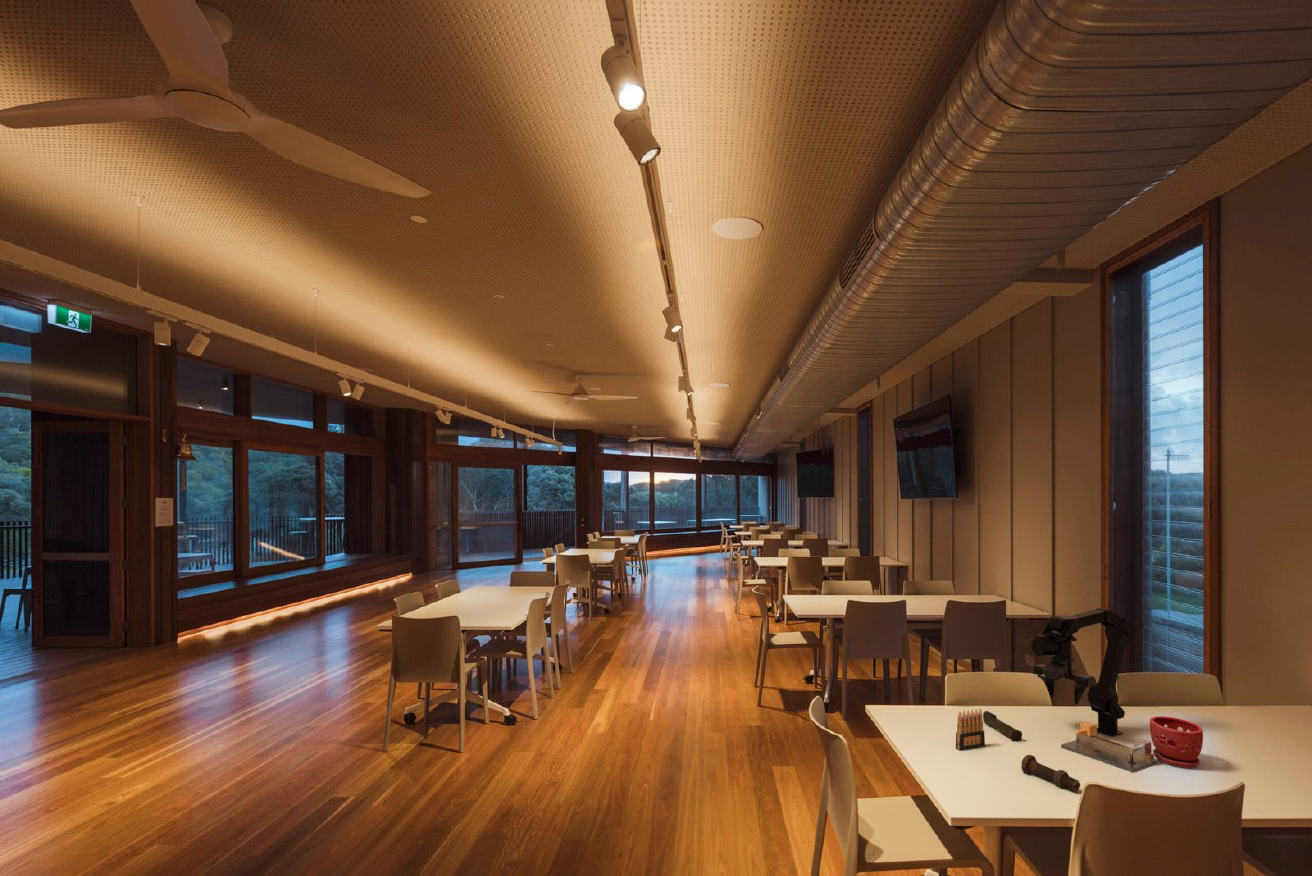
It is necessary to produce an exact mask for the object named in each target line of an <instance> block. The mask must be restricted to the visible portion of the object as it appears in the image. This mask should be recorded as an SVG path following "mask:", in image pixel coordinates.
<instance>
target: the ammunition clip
mask: <svg viewBox="0 0 1312 876" xmlns="http://www.w3.org/2000/svg"><path fill="white" fill-rule="evenodd" d="M985 739H986V738H985V730H984V721H983V711H982V709H981V708H979V709H977V708H975V710H973V709H971V710H970V711H969V709H968V710H967V711H966V712H965V710H963V711H962V713H961V711H958V714H957V723H956V732H955V749H956V750H957V751H959V752H962V751H967V750H973V749H978V748H979V749H980V748H985V747H986V741H985Z"/></svg>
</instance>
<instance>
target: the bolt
mask: <svg viewBox="0 0 1312 876" xmlns="http://www.w3.org/2000/svg"><path fill="white" fill-rule="evenodd" d="M1020 764H1021V766H1020V767H1021V770H1022V773H1023V774H1025V775H1028V776H1029V775H1033V774H1034V775H1037V776H1040V777H1042V778H1044V779H1046V780H1049V781H1050V782H1052V783H1054V785H1055V787H1056V788H1058V789H1059V788H1060V789H1068V790H1071V791H1072V792H1077V791H1079V789H1080V788H1081V783H1080V780H1078V779H1077V778H1074V777H1071V776H1070V775H1069V774H1068V772H1067V771H1066V770H1064V769H1058V770H1056V769H1053V768H1051V767H1048V766H1046V765H1044V764H1041V763H1039V762H1038V761H1037V759H1036V756H1034V755H1032V754H1026V755H1024V756H1023V758H1022V760H1021V763H1020Z"/></svg>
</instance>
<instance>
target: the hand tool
mask: <svg viewBox="0 0 1312 876" xmlns="http://www.w3.org/2000/svg"><path fill="white" fill-rule="evenodd" d="M982 720H983V724H985V725H987V726H988V727H989V728H991V729H992V728H993V729H995V730H996V731H998V732H999V733H1001V734H1003V735H1004V736H1006V737H1007V738H1009V739H1010V741H1012V742H1021V741H1022V738H1023V732H1022V730H1019V729H1016V728H1014V727H1013V726H1012V725H1009V724H1007V723H1005V722H1004V721H1002V720H1001V719H998V717H997V715H996V714H994V713H993V712H991V711H988V710H985V711H984V712H982Z"/></svg>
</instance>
